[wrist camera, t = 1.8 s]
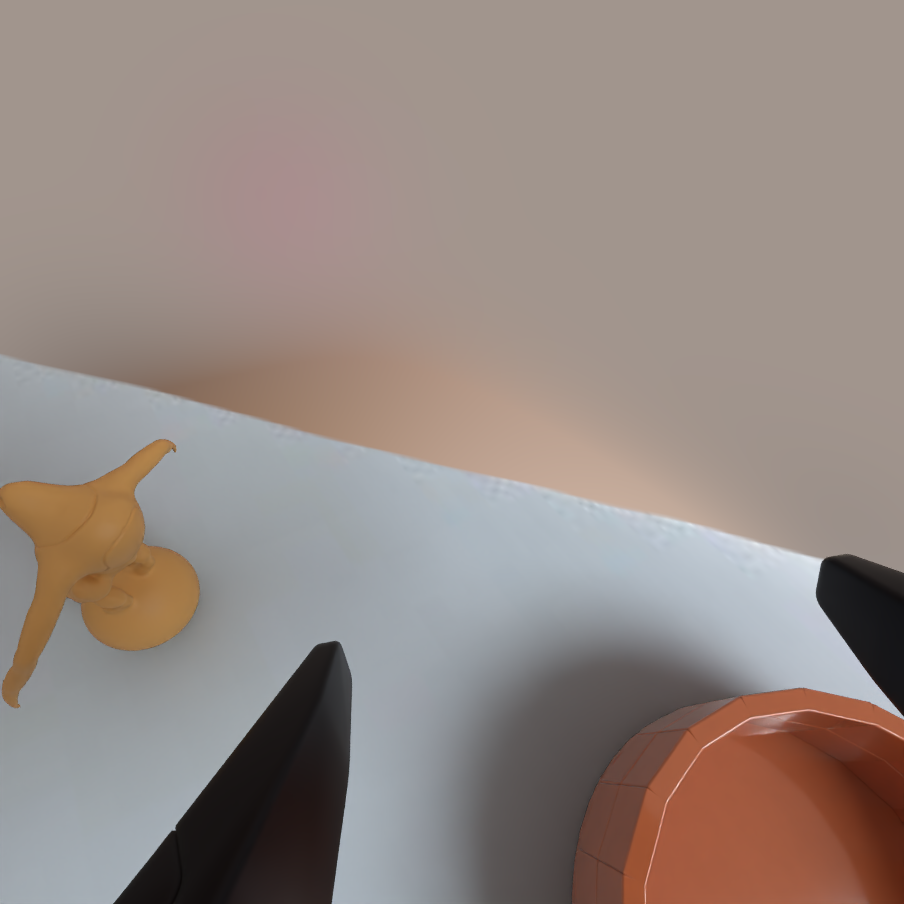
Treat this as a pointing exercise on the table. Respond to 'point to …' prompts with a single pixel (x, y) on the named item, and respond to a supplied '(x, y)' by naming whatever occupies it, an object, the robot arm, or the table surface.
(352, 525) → the table surface
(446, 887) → the table surface
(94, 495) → the figurine
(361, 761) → the table surface
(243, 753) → the robot arm
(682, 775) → the pot
